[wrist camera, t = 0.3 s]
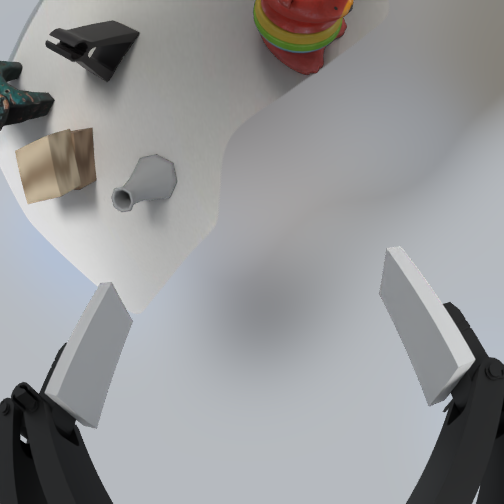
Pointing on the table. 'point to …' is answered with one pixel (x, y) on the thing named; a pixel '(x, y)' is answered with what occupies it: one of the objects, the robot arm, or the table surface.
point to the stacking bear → (300, 29)
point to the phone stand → (95, 35)
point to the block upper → (48, 167)
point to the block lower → (84, 156)
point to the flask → (146, 183)
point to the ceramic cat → (19, 98)
